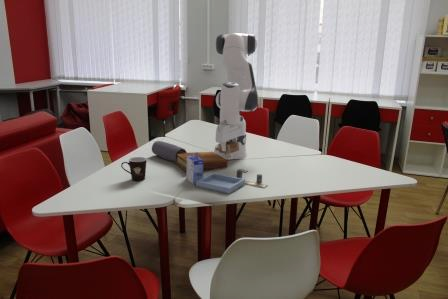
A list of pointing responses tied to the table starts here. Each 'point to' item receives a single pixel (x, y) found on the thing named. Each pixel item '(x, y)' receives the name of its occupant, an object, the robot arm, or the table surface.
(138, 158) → the coffee mug
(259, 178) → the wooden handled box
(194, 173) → the ink cartridge box
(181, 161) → the diary
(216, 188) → the tray
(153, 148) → the bluetooth speaker
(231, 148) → the wooden mooncake mold
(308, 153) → the table surface
